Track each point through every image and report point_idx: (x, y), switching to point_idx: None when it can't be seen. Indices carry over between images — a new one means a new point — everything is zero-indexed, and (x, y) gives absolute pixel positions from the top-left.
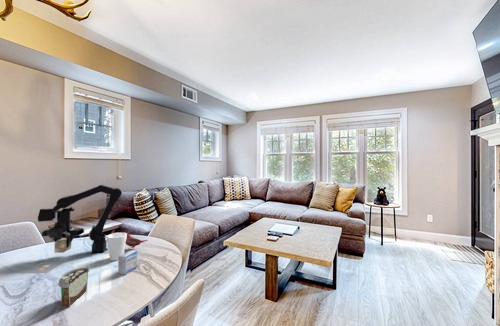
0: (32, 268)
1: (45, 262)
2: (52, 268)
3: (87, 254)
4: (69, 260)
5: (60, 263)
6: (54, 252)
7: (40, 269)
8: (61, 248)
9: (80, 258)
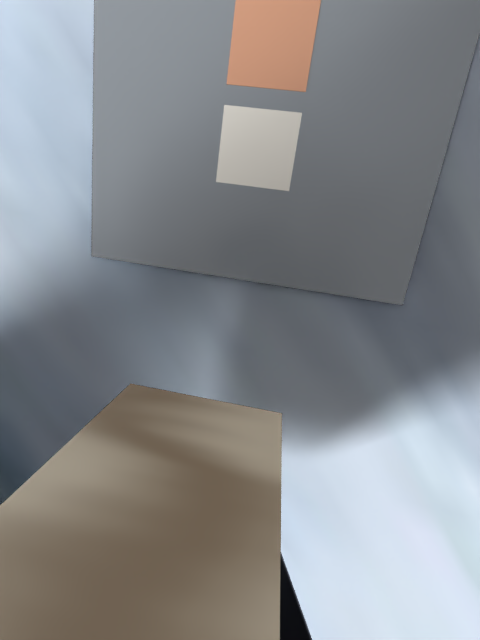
0: (420, 73)
1: (346, 284)
2: (119, 29)
3: (5, 442)
4: (88, 306)
5: (123, 207)
6: (281, 415)
7: (269, 5)
8: (122, 435)
9: (3, 341)
